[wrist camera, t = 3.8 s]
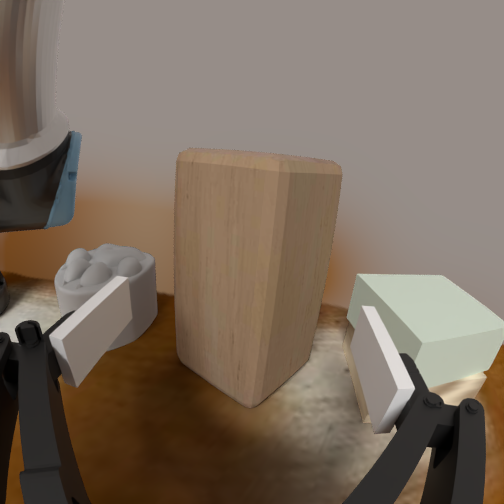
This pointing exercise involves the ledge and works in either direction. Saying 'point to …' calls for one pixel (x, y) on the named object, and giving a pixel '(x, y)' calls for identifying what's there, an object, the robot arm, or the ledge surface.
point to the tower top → (431, 323)
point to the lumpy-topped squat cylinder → (100, 274)
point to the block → (250, 264)
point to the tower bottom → (448, 391)
